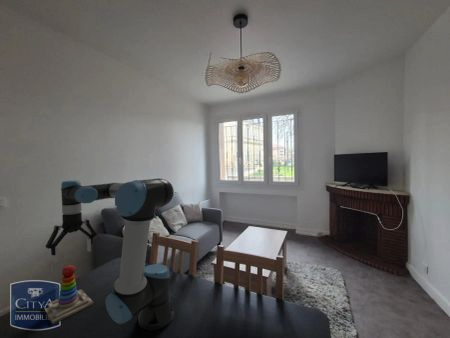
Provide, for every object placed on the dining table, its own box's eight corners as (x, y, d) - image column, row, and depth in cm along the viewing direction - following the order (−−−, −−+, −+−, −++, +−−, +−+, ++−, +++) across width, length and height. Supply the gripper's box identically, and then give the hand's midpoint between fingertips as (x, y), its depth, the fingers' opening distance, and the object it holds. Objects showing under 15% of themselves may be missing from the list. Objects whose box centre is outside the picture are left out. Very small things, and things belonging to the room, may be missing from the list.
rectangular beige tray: (93, 304, 102) (93, 299, 102) (52, 324, 90) (52, 319, 90) (81, 291, 112) (81, 287, 112) (42, 308, 99) (42, 303, 99)
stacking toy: (67, 310, 96) (66, 271, 95) (53, 308, 98) (52, 269, 97) (82, 299, 104) (81, 263, 103) (69, 297, 106) (68, 261, 105)
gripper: (96, 207, 112) (97, 245, 113) (35, 217, 92) (37, 263, 93) (103, 208, 108) (104, 248, 109) (40, 220, 88) (42, 269, 89)
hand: (73, 255), depth 101 cm, fingers open, 13 cm apart
